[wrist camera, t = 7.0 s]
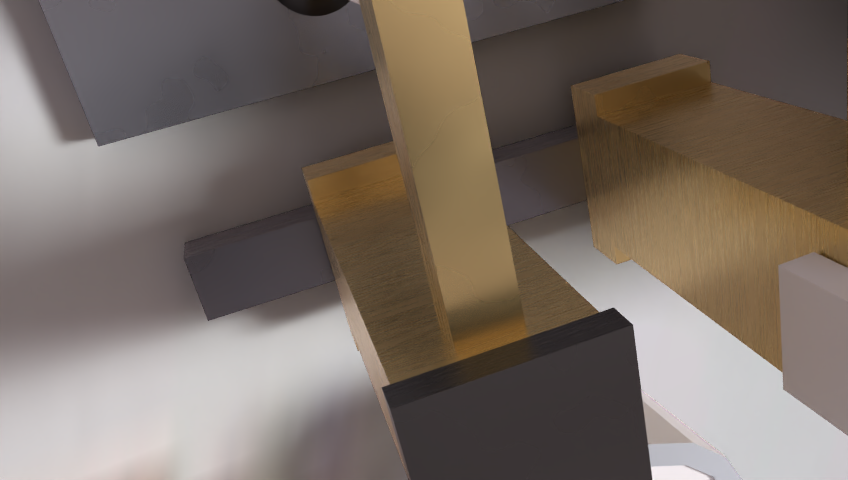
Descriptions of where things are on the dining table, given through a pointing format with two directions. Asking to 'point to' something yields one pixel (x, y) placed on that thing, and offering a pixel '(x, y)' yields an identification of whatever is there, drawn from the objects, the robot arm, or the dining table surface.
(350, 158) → the sliding leg
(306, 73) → the hole plate
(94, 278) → the dining table surface
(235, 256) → the rail
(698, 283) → the fixed leg
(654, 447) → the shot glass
